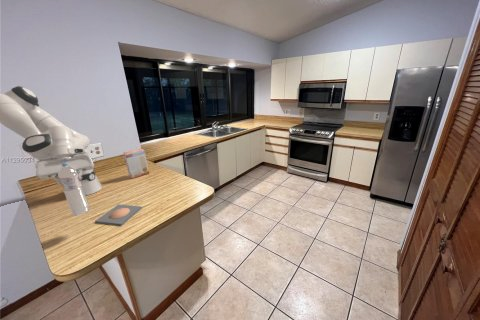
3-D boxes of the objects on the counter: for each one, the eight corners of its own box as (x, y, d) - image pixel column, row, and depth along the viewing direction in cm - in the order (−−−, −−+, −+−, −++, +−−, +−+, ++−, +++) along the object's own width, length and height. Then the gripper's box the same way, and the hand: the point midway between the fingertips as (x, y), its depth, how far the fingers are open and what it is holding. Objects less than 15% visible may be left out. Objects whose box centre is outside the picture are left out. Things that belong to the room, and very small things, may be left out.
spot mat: (95, 222, 103) (94, 220, 103) (118, 205, 118) (118, 204, 118) (121, 225, 100) (121, 223, 100) (142, 208, 115) (141, 206, 115)
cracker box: (146, 171, 168) (142, 148, 161) (149, 173, 164) (144, 149, 157) (129, 177, 159) (123, 152, 152) (131, 179, 155) (125, 153, 148)
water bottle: (76, 209, 97) (59, 162, 89) (92, 207, 99) (77, 160, 91) (69, 217, 91) (50, 167, 83) (86, 214, 93) (69, 165, 84)
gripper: (31, 157, 85) (34, 185, 81) (89, 148, 96) (95, 173, 92) (37, 164, 90) (41, 191, 86) (92, 154, 101) (97, 178, 97)
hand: (69, 181), depth 89 cm, fingers closed on water bottle, 6 cm apart
